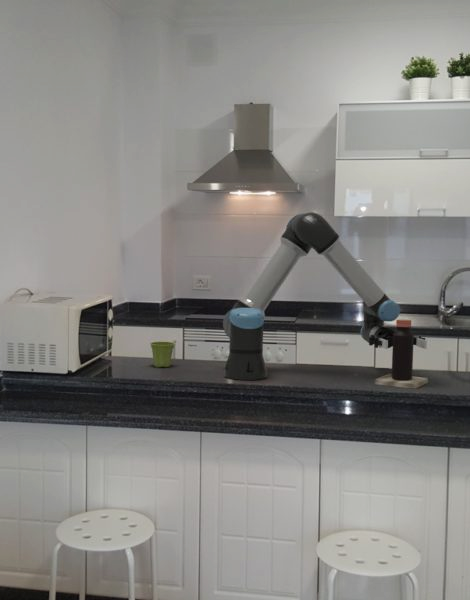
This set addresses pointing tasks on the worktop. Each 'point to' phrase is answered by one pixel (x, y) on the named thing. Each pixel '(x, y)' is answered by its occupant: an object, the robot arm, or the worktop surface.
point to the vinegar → (402, 351)
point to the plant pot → (162, 353)
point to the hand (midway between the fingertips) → (406, 344)
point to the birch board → (401, 382)
